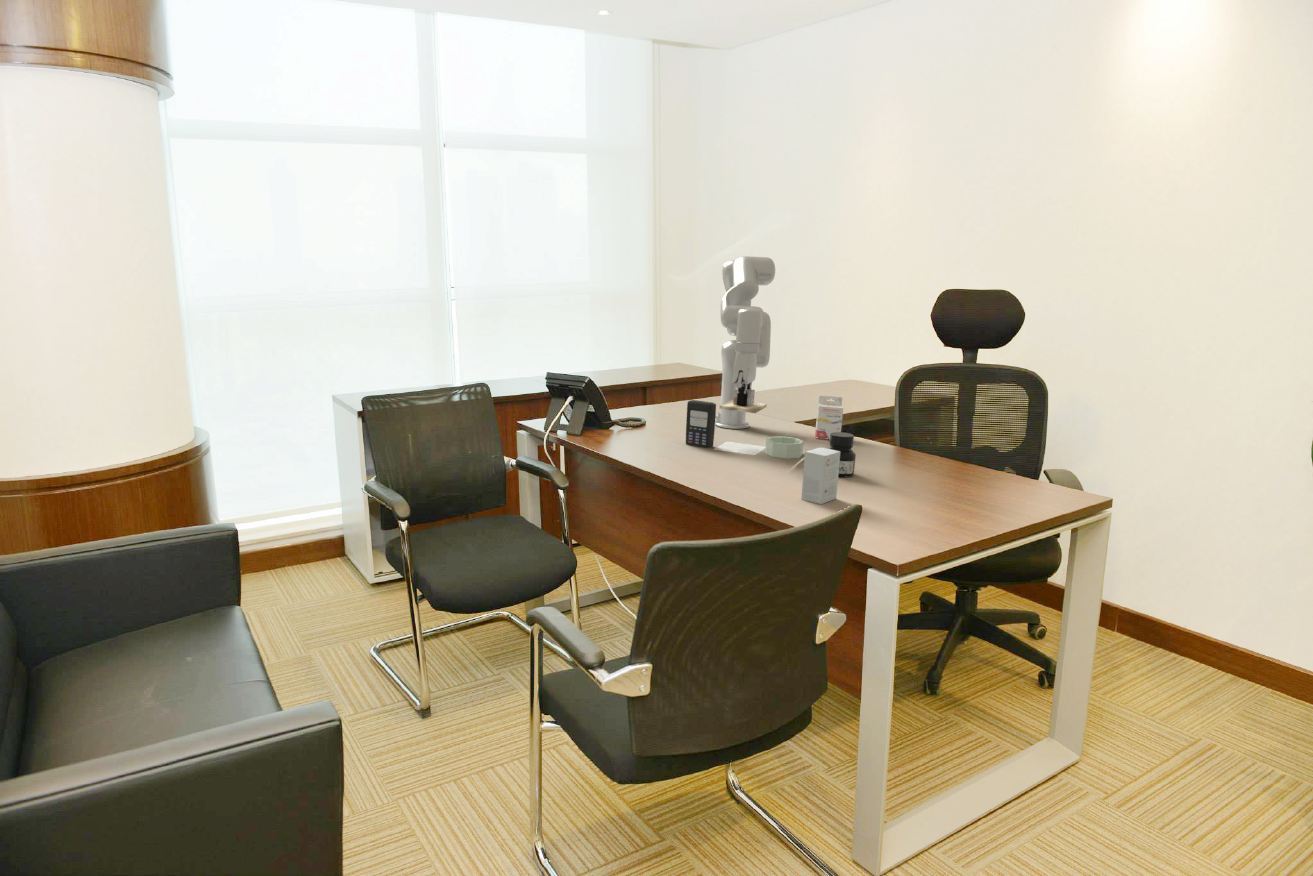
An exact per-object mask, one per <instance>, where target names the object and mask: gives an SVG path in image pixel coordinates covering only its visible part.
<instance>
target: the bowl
mask: <svg viewBox="0 0 1313 876" xmlns="http://www.w3.org/2000/svg"><path fill="white" fill-rule="evenodd" d="M765 447H766V448H765V449H764V450H765V452H764V453H765V454H766V455H768V456H770V457H772V458H773V457H774V458H779V459H800V457H803V453H804V440H801V439H799V438H797V437H790V436H784V435H783V436H780V435H779V436H769V437H768V438H766V439H765Z"/></svg>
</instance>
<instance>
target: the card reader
mask: <svg viewBox="0 0 1313 876" xmlns="http://www.w3.org/2000/svg"><path fill="white" fill-rule="evenodd" d="M716 411H717V404H716V403H715V402H713V401H712V402H711V401H704V400H696V399H692V400H688V401H687V407H686V426H685V445H688V446H694V447H698V448H699V447H700V448H705V449H707V448H709V449H711V448H713V447H714V441H715V429H716V428H715V427H716V425H715V422H716V418H715V416H716V413H717V412H716Z"/></svg>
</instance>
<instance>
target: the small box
mask: <svg viewBox="0 0 1313 876" xmlns="http://www.w3.org/2000/svg"><path fill="white" fill-rule="evenodd" d="M839 462H840V451H836V450H832V449H829V448H826V447H817V448H814V449H809V450H807V451H804V459H803V471H802V472H803V473H802V484H801V485H802V487H801V500H802V501H807V502H811V503H814V504H819V505H823V504H826V503H828V502H831V501H833V500H836V499H837V493H838V482H839V477H838V474H839Z"/></svg>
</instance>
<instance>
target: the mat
mask: <svg viewBox="0 0 1313 876" xmlns="http://www.w3.org/2000/svg"><path fill="white" fill-rule="evenodd" d="M765 449H766V445H765V446H764V445H763V446H762V445H755V444H749V443H741V442H734V441H725V442H724V443H722V444H720V445H718V446H717V447H715V448H713V449H712V450H715V451H722V452H729V453H734V454H735V453H736V454H743V455H744V454H745V455H749V456H756V455H757V454H759V453H761V452H762V451H764V450H765Z"/></svg>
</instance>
